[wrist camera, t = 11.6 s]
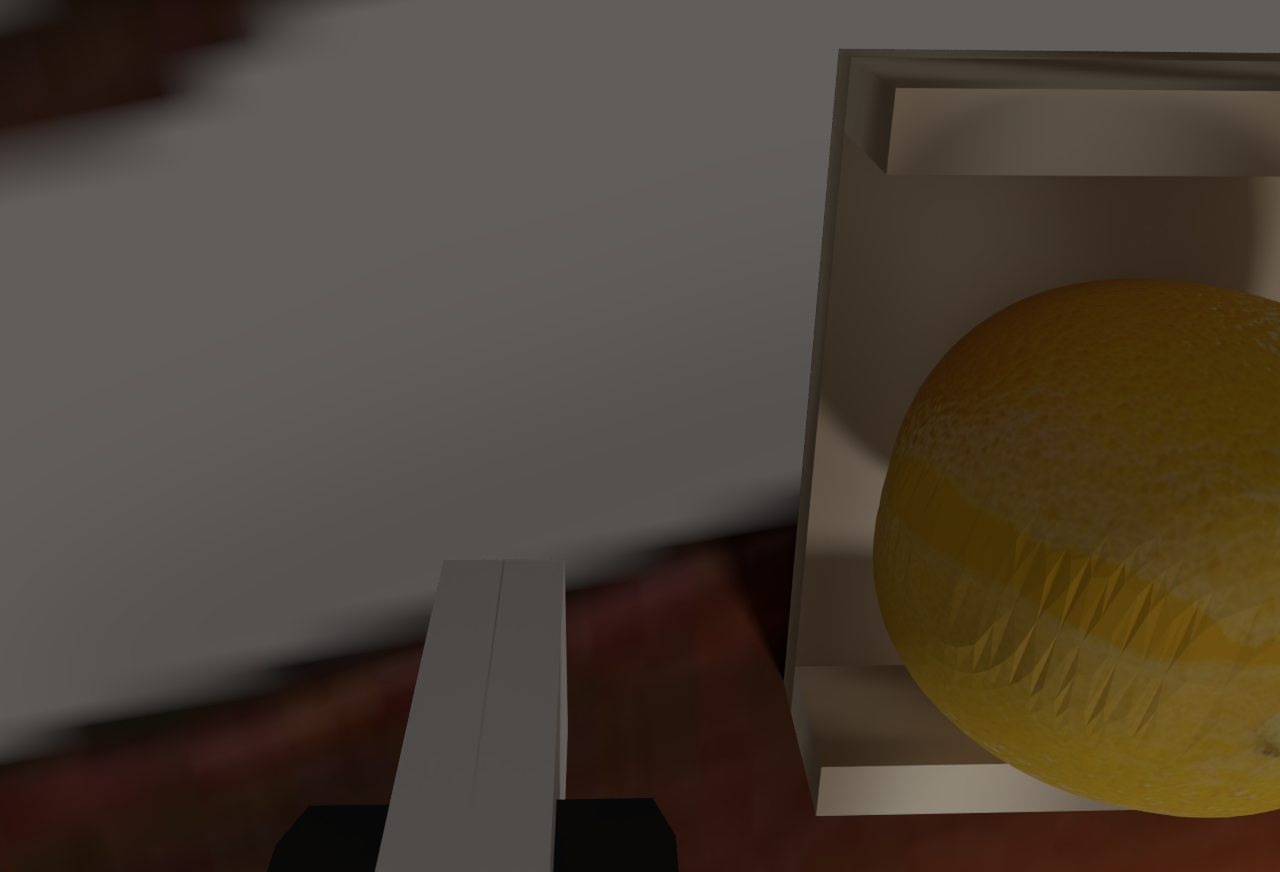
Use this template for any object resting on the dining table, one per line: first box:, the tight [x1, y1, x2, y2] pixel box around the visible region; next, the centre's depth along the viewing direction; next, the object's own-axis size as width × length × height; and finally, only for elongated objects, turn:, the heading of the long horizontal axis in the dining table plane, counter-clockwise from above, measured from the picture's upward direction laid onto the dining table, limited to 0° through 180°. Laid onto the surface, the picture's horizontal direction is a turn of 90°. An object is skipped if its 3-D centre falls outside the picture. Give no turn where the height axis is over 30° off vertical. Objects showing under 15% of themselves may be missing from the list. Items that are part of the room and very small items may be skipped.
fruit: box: [873, 279, 1280, 818], centre depth 18 cm, size 9×8×8 cm
